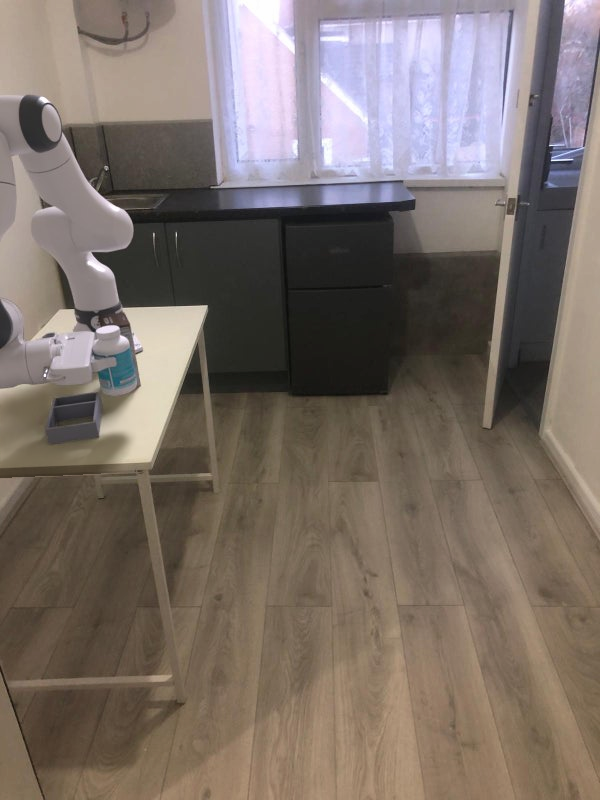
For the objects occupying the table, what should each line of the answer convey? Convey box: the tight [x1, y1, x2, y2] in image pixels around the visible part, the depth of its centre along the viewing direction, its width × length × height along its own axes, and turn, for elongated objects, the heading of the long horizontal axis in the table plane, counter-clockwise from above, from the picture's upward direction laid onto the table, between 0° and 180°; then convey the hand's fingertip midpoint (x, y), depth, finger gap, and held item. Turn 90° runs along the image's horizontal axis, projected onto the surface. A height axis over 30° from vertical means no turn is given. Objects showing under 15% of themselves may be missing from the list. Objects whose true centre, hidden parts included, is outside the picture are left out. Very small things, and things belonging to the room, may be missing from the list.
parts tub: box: [44, 391, 103, 445], centre depth 139 cm, size 15×10×4 cm, turn 13°
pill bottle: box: [92, 325, 138, 396], centre depth 133 cm, size 8×7×14 cm
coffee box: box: [98, 311, 142, 388], centre depth 155 cm, size 9×6×16 cm
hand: (117, 352), depth 133 cm, fingers closed on pill bottle, 7 cm apart
